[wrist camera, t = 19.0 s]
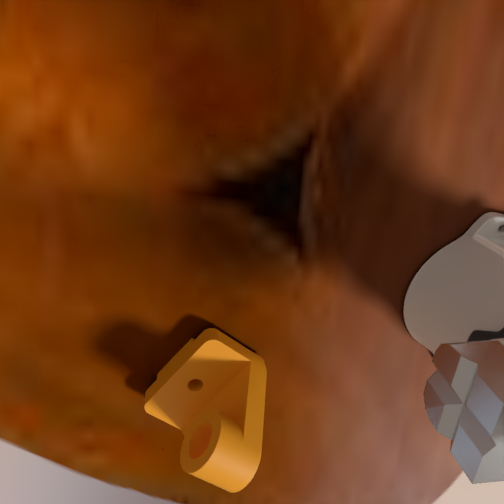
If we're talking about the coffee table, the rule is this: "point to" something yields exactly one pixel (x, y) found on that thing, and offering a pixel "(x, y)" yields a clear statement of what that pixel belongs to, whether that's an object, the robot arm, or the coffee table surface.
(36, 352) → the coffee table surface
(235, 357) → the bracket
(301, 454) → the coffee table surface
